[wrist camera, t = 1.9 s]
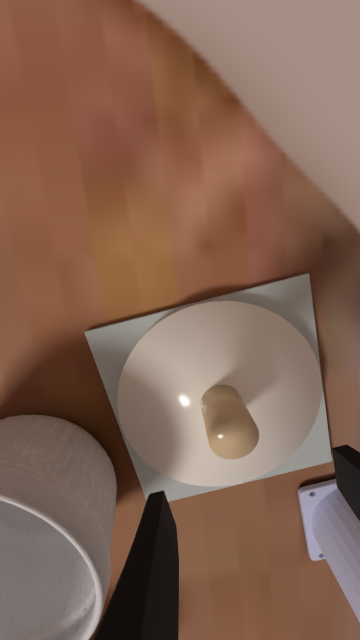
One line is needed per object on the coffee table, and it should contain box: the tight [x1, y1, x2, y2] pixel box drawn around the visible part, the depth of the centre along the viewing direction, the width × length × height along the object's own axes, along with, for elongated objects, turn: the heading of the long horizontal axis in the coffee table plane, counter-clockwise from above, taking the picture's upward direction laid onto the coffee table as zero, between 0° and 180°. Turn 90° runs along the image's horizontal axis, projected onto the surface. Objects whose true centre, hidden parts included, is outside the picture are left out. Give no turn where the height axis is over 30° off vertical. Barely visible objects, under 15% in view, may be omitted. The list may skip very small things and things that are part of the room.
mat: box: [84, 274, 332, 502], centre depth 16 cm, size 15×15×1 cm
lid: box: [117, 300, 322, 487], centre depth 14 cm, size 14×14×4 cm
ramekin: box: [0, 415, 117, 640], centre depth 14 cm, size 13×13×7 cm
